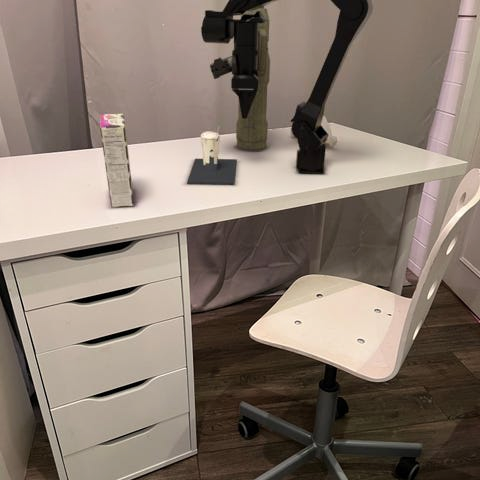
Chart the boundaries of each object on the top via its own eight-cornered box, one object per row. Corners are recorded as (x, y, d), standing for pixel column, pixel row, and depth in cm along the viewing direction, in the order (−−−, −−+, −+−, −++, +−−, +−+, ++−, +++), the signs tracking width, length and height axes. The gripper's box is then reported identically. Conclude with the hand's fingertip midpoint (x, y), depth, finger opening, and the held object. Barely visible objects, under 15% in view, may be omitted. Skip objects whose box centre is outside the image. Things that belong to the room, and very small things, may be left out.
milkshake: (226, 169, 130) (225, 127, 124) (210, 173, 126) (209, 130, 121) (213, 165, 132) (212, 124, 127) (197, 169, 129) (196, 127, 124)
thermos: (249, 154, 144) (252, 7, 125) (228, 144, 153) (228, 5, 134) (275, 150, 148) (282, 7, 129) (253, 141, 157) (257, 6, 138)
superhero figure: (282, 141, 161) (320, 149, 145) (283, 109, 157) (322, 114, 141) (310, 138, 165) (350, 146, 149) (311, 107, 161) (352, 112, 145)
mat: (236, 161, 138) (236, 159, 137) (234, 185, 121) (234, 182, 121) (195, 160, 138) (195, 158, 138) (187, 184, 121) (187, 181, 121)
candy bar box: (109, 191, 116) (99, 113, 107) (132, 190, 117) (124, 113, 108) (109, 208, 107) (99, 125, 98) (134, 207, 108) (125, 124, 99)
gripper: (214, 41, 130) (214, 107, 138) (208, 47, 114) (210, 121, 123) (258, 41, 130) (256, 107, 138) (259, 48, 114) (257, 122, 123)
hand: (244, 114), depth 130 cm, fingers open, 9 cm apart
